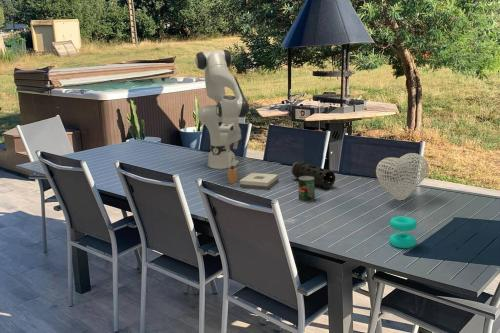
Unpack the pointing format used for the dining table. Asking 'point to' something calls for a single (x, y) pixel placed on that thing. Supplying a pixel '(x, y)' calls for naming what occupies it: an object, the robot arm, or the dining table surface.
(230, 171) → the plug
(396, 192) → the heart
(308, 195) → the canned tomato
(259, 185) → the socket block
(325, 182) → the muzzle brake
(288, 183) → the dining table surface
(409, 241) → the donuts
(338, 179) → the dining table surface
